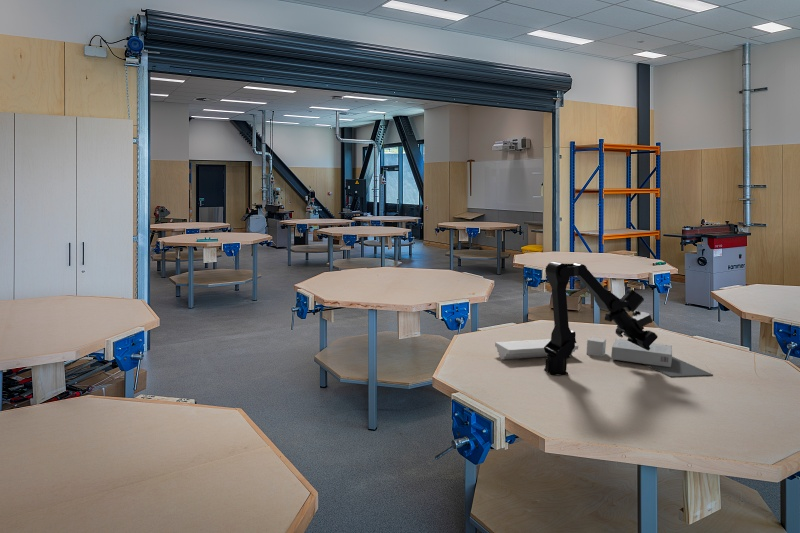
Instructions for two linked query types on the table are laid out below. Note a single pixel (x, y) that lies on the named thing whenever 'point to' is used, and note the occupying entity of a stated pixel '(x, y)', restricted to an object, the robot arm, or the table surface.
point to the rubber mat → (680, 369)
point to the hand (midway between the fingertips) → (648, 349)
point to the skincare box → (642, 353)
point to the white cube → (596, 346)
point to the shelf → (523, 349)
